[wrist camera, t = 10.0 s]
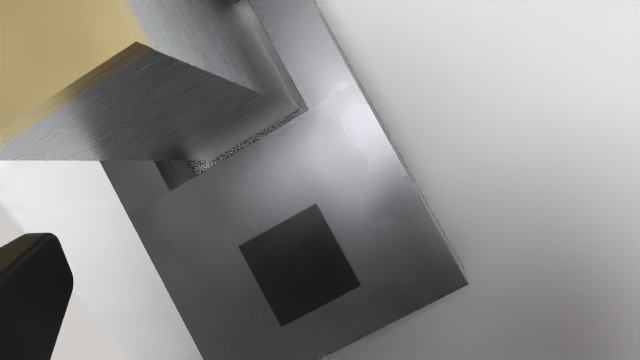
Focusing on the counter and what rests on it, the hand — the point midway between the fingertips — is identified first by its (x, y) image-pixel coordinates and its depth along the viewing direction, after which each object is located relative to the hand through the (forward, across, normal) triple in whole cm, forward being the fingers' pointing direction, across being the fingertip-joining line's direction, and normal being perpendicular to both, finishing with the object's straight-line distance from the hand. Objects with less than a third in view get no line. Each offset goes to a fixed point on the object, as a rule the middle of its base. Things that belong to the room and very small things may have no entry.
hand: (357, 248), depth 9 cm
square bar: (+14, +5, +3) cm, 16 cm away
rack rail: (+14, +5, +3) cm, 16 cm away
